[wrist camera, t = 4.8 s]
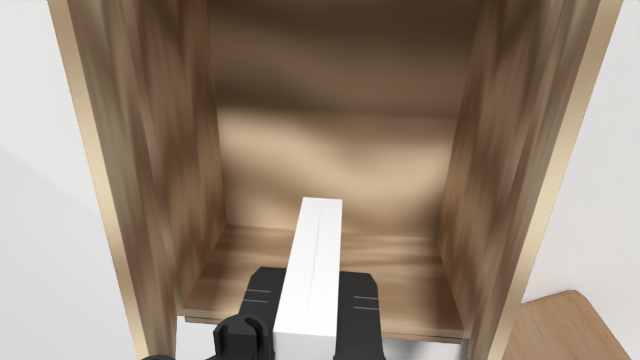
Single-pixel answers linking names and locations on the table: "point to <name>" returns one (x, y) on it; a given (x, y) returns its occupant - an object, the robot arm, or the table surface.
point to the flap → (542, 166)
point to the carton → (338, 141)
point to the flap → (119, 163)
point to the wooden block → (561, 331)
